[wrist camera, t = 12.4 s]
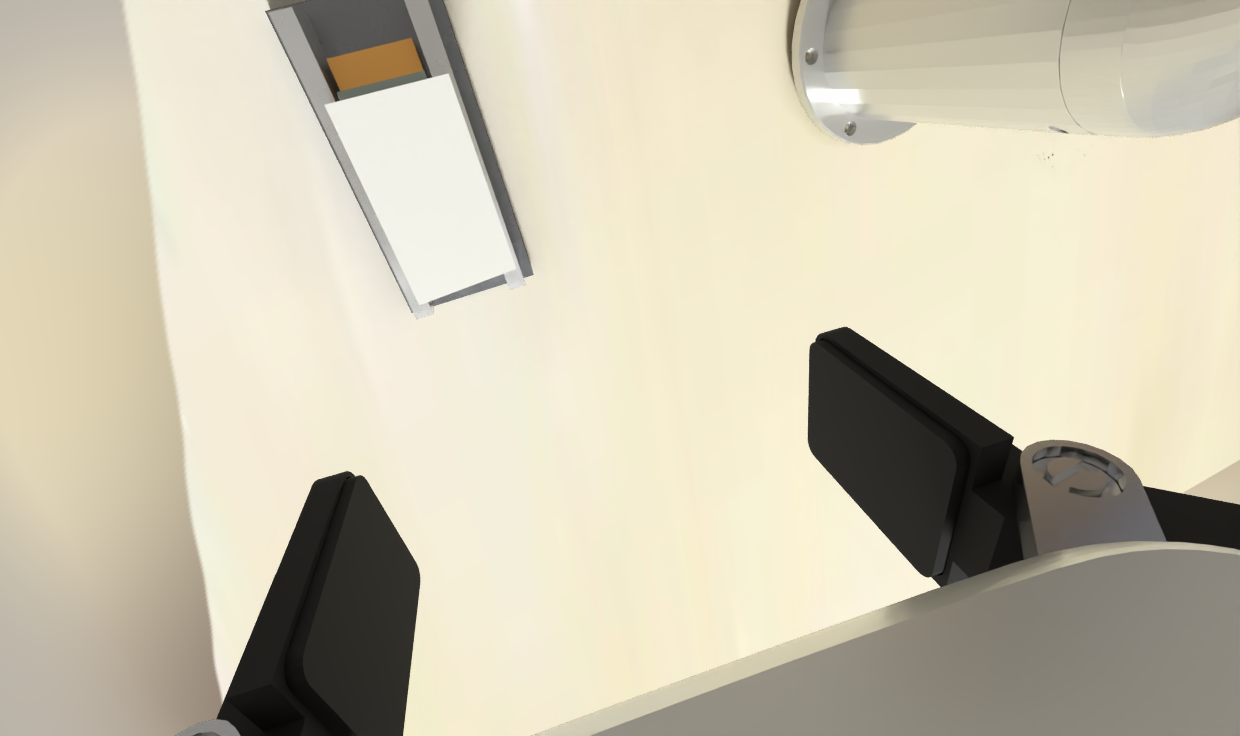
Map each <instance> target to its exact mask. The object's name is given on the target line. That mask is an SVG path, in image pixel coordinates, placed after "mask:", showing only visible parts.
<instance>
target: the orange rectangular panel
mask: <svg viewBox="0 0 1240 736" xmlns="http://www.w3.org/2000/svg"><path fill="white" fill-rule="evenodd" d="M326 60H327V62H328V64H329V67H330V69H331V71H332V73H333V75H334V78H335V80H336V82H337V84H338V86H339V89H340V91H343V90H347V89H351V88H355V87H360V86H364V85H368V84H372V83H376V82H380V81H384V80H388V79H392V78H396V77H400V76H404V75H408V74H412V73H416V72H420V71H424V68H423V65H422V63H421V60H420V57H419V54H418V52H417V49H416V46H415V44H414V41H413V39H412V38H409V39H405V40H401V41H397V42H393V43H388V44H384V45H380V46H376V47H372V48H368V49H364V50H360V51H356V52H352V53H348V54H344V55H340V56H336V57H332V58H328V59H326ZM425 74H426V73H425Z"/></svg>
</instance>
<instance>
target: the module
mask: <svg viewBox="0 0 1240 736" xmlns="http://www.w3.org/2000/svg"><path fill="white" fill-rule="evenodd" d="M337 96H338V98H339V100H340V101H337V102H333V103H329V104H325V107H326V110H327V112H328V114H329V116H330V118H331V120H332V122H333V124H334V126H335V129H336V131H337V133H338V135H339V137H340V139H341V141H342V143H343V145H344V148H345V150H346V152H347V154H348V156H349V158H350V160H351V162H352V164H353V167H354V169H355V171H356V173H357V175H358V177H359V179H360V181H361V183H362V186H363V188H364V190H365V192H366V194H367V196H368V198H369V200H370V202H371V205H372V207H373V209H374V211H375V213H376V215H377V217H378V219H379V221H380V224H381V226H382V228H383V230H384V232H385V234H386V236H387V238H388V240H389V243H390V245H391V247H392V249H393V251H394V253H395V255H396V257H397V259H398V262H399V264H400V266H401V268H402V270H403V272H404V274H405V276H406V278H407V281H408V283H409V285H410V287H411V289H412V291H413V293H414V295H415V298H416V300H417V302H418V304H419V305H422V304H424V303H427V302H430V301H432V300H435V299H438V298H440V297H443V296H446V295H448V294H451V293H454V292H456V291H459V290H462V289H464V288H467V287H469V286H472V285H475V284H477V283H480V282H483V281H485V280H488V279H491V278H493V277H496V276H499V275H501V274H504V273H507V272H509V271H512V270H515V269H516V266H515V263H514V260H513V257H512V254H511V252H510V249H509V246H508V243H507V240H506V237H505V234H504V231H503V229H502V226H501V223H500V220H499V217H498V214H497V211H496V208H495V206H494V203H493V200H492V197H491V194H490V191H489V188H488V185H487V183H486V180H485V177H484V174H483V171H482V168H481V165H480V162H479V160H478V157H477V154H476V151H475V148H474V145H473V142H472V139H471V137H470V134H469V131H468V128H467V125H466V122H465V119H464V116H463V114H462V111H461V108H460V105H459V102H458V99H457V96H456V94H455V91H454V88H453V85H452V82H451V79H450V76H449V73H448V74H444V75H441V76H437V77H433V78H429V79H427V76H426V74H425V71H420V72H416V73H412V74H408V75H404V76H400V77H396V78H392V79H388V80H384V81H380V82H376V83H372V84H368V85H364V86H360V87H355V88H351V89H347V90H343V91H339V92H337Z"/></svg>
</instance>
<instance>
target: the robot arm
mask: <svg viewBox="0 0 1240 736" xmlns="http://www.w3.org/2000/svg"><path fill="white" fill-rule="evenodd" d="M805 56H806V60H805ZM792 70H793V76H794V83H795V88H796V91H797V94H798V97H799V99H800V102H801V105H802V107H803V109H804V110H805V112H806V114H807V115H808V117H809V119H810V120H811V121H812V122H813V123H814V124H815V126H816V127H817V128H818V129H819V130H820V131H821V132H823V133H825V134H826V135H828V136H829V137H831V138H832V139H835V140H838V141H841V142H844V143H849V144H858V145H870V144H879V143H882V142H885V141H888V140H891V139H894V138H896V137H897V136H899V135H901V134H903V133H905V132H907V131H908V130H910V129H911V128H912V127H913V126H915V125H916V124H917V123H925V124H939V125H954V126H968V127H982V128H996V129H1011V130H1025V131H1039V132H1054V133H1068V134H1082V135H1096V136H1114V137H1130V138H1158V137H1169V136H1177V135H1183V134H1188V133H1192V132H1196V131H1201V130H1205V129H1209V128H1212V127H1214V126H1217V125H1220V124H1223V123H1226V122H1228V121H1231V120H1234V119H1236V118H1239V117H1240V0H801V2H800V5H799V9H798V12H797V16H796V19H795V26H794V33H793V40H792ZM1013 439H1014V437H1013V436H1012V435H1010V434H1008V433H1007V432H1005V431H1004V430H1002V429H1001V428H999V427H998V426H996V425H995V424H993V423H992V422H990V421H989V420H987V419H986V418H984V417H983V416H981V415H980V414H978V413H977V412H975V411H974V410H972V409H971V408H969V407H968V406H966V405H965V404H963V403H962V402H960V401H959V400H957V399H956V398H954V397H953V396H951V395H950V394H948V393H947V392H945V391H944V390H942V389H941V388H939V387H938V386H936V385H935V384H933V383H932V382H930V381H929V380H927V379H926V378H924V377H922V376H921V375H919V374H918V373H916V372H915V371H913V370H912V369H910V368H909V367H907V366H906V365H904V364H903V363H901V362H900V361H898V360H897V359H895V358H894V357H892V356H891V355H889V354H888V353H886V352H885V351H883V350H882V349H880V348H879V347H877V346H876V345H874V344H873V343H871V342H870V341H868V340H867V339H865V338H864V337H862V336H861V335H859V334H858V333H856V332H855V331H853V330H852V329H850V328H848V327H842V328H838V329H835V330H831V331H828V332H824V333H821V334H819V335H818V336H817V338H816V341H815V342H814V343H812V344H811V346H810V353H809V404H808V444H809V447H810V450H811V452H812V454H813V455H814V456H815V458H816V459H817V460H818V461H819V462H820V463H821V464H822V465H823V466H824V468H825V469H826V470H827V471H828V472H829V473H830V474H831V475H832V476H833V478H834V479H835V480H836V481H837V482H838V483H839V484H840V485H841V486H842V488H843V489H844V490H845V491H846V492H847V493H848V494H849V495H850V496H851V498H852V499H853V500H854V501H855V502H856V503H857V504H858V505H859V506H860V508H861V509H862V510H863V511H864V512H865V513H866V514H867V515H868V516H869V518H870V519H871V520H872V521H873V522H874V523H875V524H876V525H877V526H878V528H879V529H880V530H881V531H882V532H883V533H884V534H885V535H886V536H887V538H888V539H889V540H890V541H891V542H892V543H893V544H894V545H895V546H896V548H897V549H898V550H899V551H900V552H901V553H902V554H903V555H904V556H905V558H906V559H907V560H908V561H909V562H910V563H911V564H912V565H913V566H914V568H915V569H916V570H917V571H918V572H919V573H920V574H921V575H923V576H925V577H932V578H933V579H934V580H935V581H936V582H937V584H938V585H939V586H940V588H937V589H934V590H931V591H928V592H926V593H923V594H920V595H917V596H914V597H912V598H909V599H906V600H903V601H900V602H898V603H895V604H892V605H889V606H886V607H884V608H881V609H878V610H875V611H872V612H870V613H867V614H864V615H861V616H858V617H856V618H853V619H850V620H847V621H844V622H842V623H839V624H836V625H833V626H830V627H828V628H825V629H822V630H819V631H816V632H814V633H811V634H808V635H805V636H802V637H800V638H797V639H794V640H791V641H789V642H786V643H783V644H780V645H778V646H775V647H772V648H769V649H767V650H764V651H761V652H758V653H756V654H753V655H750V656H747V657H744V658H742V659H739V660H736V661H733V662H731V663H728V664H725V665H722V666H720V667H717V668H714V669H711V670H709V671H706V672H703V673H700V674H698V675H695V676H692V677H689V678H687V679H684V680H681V681H678V682H676V683H673V684H670V685H667V686H665V687H662V688H659V689H657V690H654V691H651V692H648V693H646V694H643V695H640V696H637V697H635V698H632V699H629V700H626V701H624V702H621V703H618V704H615V705H613V706H610V707H607V708H605V709H602V710H599V711H596V712H594V713H591V714H588V715H586V716H583V717H580V718H578V719H575V720H572V721H569V722H567V723H564V724H561V725H559V726H556V727H553V728H550V729H548V730H545V731H542V732H540V733H537V734H534V735H532V736H1240V505H1238V504H1234V503H1228V502H1223V501H1218V500H1213V499H1207V498H1202V497H1197V496H1192V495H1187V494H1182V493H1176V492H1171V491H1166V490H1161V489H1156V488H1150V487H1145V486H1143V485H1142V483H1141V480H1140V479H1139V477H1138V476H1137V474H1136V473H1135V472H1134V470H1133V469H1132V468H1131V467H1130V466H1128V465H1127V464H1126V463H1125V462H1123V461H1122V460H1121V459H1119V458H1117V457H1115V456H1114V455H1112V454H1110V453H1108V452H1106V451H1104V450H1101V449H1098V448H1096V447H1093V446H1090V445H1087V444H1083V443H1078V442H1073V441H1065V440H1047V441H1040V442H1036V443H1034V444H1031V445H1029V446H1027V447H1026V448H1025V449H1024V450H1023V451H1021V450H1020V449H1018V448H1017V447H1015V446H1014V445H1013V444H1012V442H1013ZM419 589H420V573H419V568H418V565H417V563H416V562H415V560H414V558H413V557H412V555H411V553H410V552H409V550H408V548H407V547H406V545H405V543H404V542H403V540H402V538H401V537H400V535H399V533H398V532H397V530H396V528H395V527H394V525H393V523H392V522H391V520H390V518H389V517H388V515H387V513H386V512H385V510H384V508H383V507H382V505H381V503H380V502H379V500H378V498H377V497H376V495H375V493H374V492H373V490H372V488H371V487H370V485H369V483H368V482H367V480H366V479H365V477H363V476H361V475H359V476H356V477H355V476H354V474H352V473H351V472H348V471H346V472H343V473H339V474H336V475H332V476H329V477H325V478H322V479H318V480H316V481H315V482H314V483H313V485H312V487H311V490H310V492H309V495H308V497H307V500H306V502H305V504H304V507H303V509H302V512H301V514H300V517H299V519H298V522H297V524H296V527H295V529H294V531H293V534H292V536H291V539H290V541H289V544H288V546H287V549H286V551H285V553H284V556H283V558H282V561H281V563H280V566H279V568H278V571H277V573H276V575H275V577H274V579H273V582H272V584H271V587H270V589H269V592H268V594H267V597H266V599H265V601H264V604H263V606H262V609H261V611H260V614H259V616H258V619H257V621H256V623H255V626H254V628H253V631H252V633H251V636H250V638H249V641H248V643H247V645H246V648H245V650H244V653H243V655H242V658H241V660H240V663H239V665H238V667H237V670H236V672H235V675H234V677H233V680H232V682H231V685H230V687H229V690H228V692H227V694H226V697H225V699H224V702H223V704H222V707H221V709H220V712H219V714H218V717H217V719H212V720H209V721H205V722H201V723H197V724H195V725H193V726H191V727H189V728H187V729H186V730H184V731H182V732H180V733H178V734H177V735H175V736H403V730H404V721H405V712H406V703H407V695H408V686H409V677H410V668H411V659H412V651H413V642H414V633H415V624H416V615H417V607H418V598H419Z"/></svg>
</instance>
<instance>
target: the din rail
mask: <svg viewBox="0 0 1240 736" xmlns="http://www.w3.org/2000/svg"><path fill="white" fill-rule="evenodd" d="M265 12H266V14H267V16H268V18H269V20H270V22H271V24H272V26H273V28H274V30H275V32H276V34H277V36H278V38H279V40H280V43H281V45H282V47H283V49H284V51H285V53H286V55H287V57H288V59H289V61H290V63H291V65H292V67H293V69H294V71H295V73H296V75H297V77H298V80H299V82H300V84H301V86H302V88H303V90H304V92H305V94H306V96H307V98H308V100H309V102H310V104H311V106H312V108H313V110H314V112H315V114H316V117H317V119H318V121H319V123H320V125H321V127H322V129H323V131H324V133H325V135H326V137H327V139H328V141H329V143H330V145H331V147H332V149H333V152H334V154H335V156H336V158H337V160H338V162H339V164H340V166H341V168H342V170H343V172H344V174H345V176H346V178H347V180H348V182H349V184H350V186H351V189H352V191H353V193H354V195H355V197H356V199H357V201H358V203H359V205H360V207H361V209H362V211H363V213H364V215H365V217H366V219H367V221H368V223H369V226H370V228H371V230H372V232H373V234H374V236H375V238H376V240H377V242H378V244H379V246H380V248H381V250H382V252H383V254H384V256H385V258H386V261H387V263H388V265H389V267H390V269H391V271H392V273H393V275H394V277H395V279H396V281H397V283H398V285H399V287H400V289H401V291H402V293H403V295H404V298H405V300H406V302H407V304H408V306H409V308H410V310H411V312H412V313H414V315H415V317H416V319H419V318H423V317H426V316H429V315H432V314H434V306H436V305H439V304H442V303H445V302H448V301H452V300H455V299H458V298H461V297H464V296H467V295H471V294H474V293H477V292H480V291H483V290H487V289H490V288H493V287H496V286H499V285H502V284H506V283H507V284H508V287H509V290H511V289H514V288H517V287H520V286H524V285H526V284H525V281H524V278H525V277H528V276H531V275H534V274H533V271H532V268H531V265H530V262H529V259H528V256H527V253H526V250H525V247H524V244H523V241H522V238H521V235H520V232H519V229H518V226H517V223H516V220H515V217H514V214H513V211H512V208H511V205H510V202H509V199H508V196H507V193H506V190H505V187H504V184H503V181H502V178H501V175H500V172H499V169H498V166H497V163H496V160H495V157H494V154H493V151H492V148H491V144H490V141H489V138H488V135H487V132H486V129H485V126H484V123H483V120H482V117H481V114H480V111H479V108H478V105H477V102H476V99H475V96H474V93H473V90H472V87H471V84H470V81H469V78H468V75H467V72H466V69H465V66H464V63H463V60H462V57H461V54H460V51H459V48H458V45H457V42H456V39H455V36H454V33H453V30H452V27H451V24H450V21H449V18H448V15H447V12H446V9H445V6H444V3H443V0H311V1H306V2H302V3H298V4H293V5H289V6H285V7H280V8H276V9H272V10H268V11H265ZM409 38H412V39H413V41H414V44H415V46H416V49H417V52H418V54H419V57H420V60H421V63H422V65H423V68H424V71H425V73H426V76H427V79H429V78H433V77H437V76H441V75H444V74H448V73H449V76H450V79H451V82H452V85H453V88H454V91H455V94H456V96H457V99H458V102H459V105H460V108H461V111H462V114H463V116H464V119H465V122H466V125H467V128H468V131H469V134H470V137H471V139H472V142H473V145H474V148H475V151H476V154H477V157H478V160H479V162H480V165H481V168H482V171H483V174H484V177H485V180H486V183H487V185H488V188H489V191H490V194H491V197H492V200H493V203H494V206H495V208H496V211H497V214H498V217H499V220H500V223H501V226H502V229H503V231H504V234H505V237H506V240H507V243H508V246H509V249H510V252H511V254H512V257H513V260H514V263H515V266H516V269H515V270H512V271H509V272H507V273H504V274H501V275H499V276H496V277H493V278H491V279H488V280H485V281H483V282H480V283H477V284H475V285H472V286H469V287H467V288H464V289H462V290H459V291H456V292H454V293H451V294H448V295H446V296H443V297H440V298H438V299H435V300H432V301H430V302H427V303H424V304H422V305H419V304H418V302H417V300H416V298H415V295H414V293H413V291H412V289H411V287H410V285H409V283H408V281H407V278H406V276H405V274H404V272H403V270H402V268H401V266H400V264H399V262H398V259H397V257H396V255H395V253H394V251H393V249H392V247H391V245H390V243H389V240H388V238H387V236H386V234H385V232H384V230H383V228H382V226H381V224H380V221H379V219H378V217H377V215H376V213H375V211H374V209H373V207H372V205H371V202H370V200H369V198H368V196H367V194H366V192H365V190H364V188H363V186H362V183H361V181H360V179H359V177H358V175H357V173H356V171H355V169H354V167H353V164H352V162H351V160H350V158H349V156H348V154H347V152H346V150H345V148H344V145H343V143H342V141H341V139H340V137H339V135H338V133H337V131H336V129H335V126H334V124H333V122H332V120H331V118H330V116H329V114H328V112H327V110H326V107H325V104H329V103H333V102H337V101H340V100H339V98H338V96H337V92H339V91H340V89H339V86H338V84H337V82H336V80H335V78H334V75H333V73H332V71H331V69H330V67H329V64H328V62H327V60H326V59H328V58H332V57H336V56H340V55H344V54H348V53H352V52H356V51H360V50H364V49H368V48H372V47H376V46H380V45H384V44H388V43H393V42H397V41H401V40H405V39H409Z"/></svg>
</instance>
